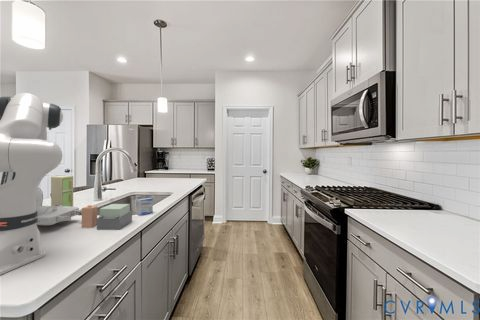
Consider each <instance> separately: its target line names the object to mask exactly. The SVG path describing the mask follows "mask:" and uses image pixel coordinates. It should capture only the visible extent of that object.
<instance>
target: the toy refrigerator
mask: <svg viewBox="0 0 480 320" xmlns="http://www.w3.org/2000/svg"><path fill="white" fill-rule="evenodd" d="M55 205H62V206H70V207H74V176H73V175H55V176H51V177H50V206H55Z"/></svg>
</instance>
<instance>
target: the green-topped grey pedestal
mask: <svg viewBox="0 0 480 320" xmlns="http://www.w3.org/2000/svg"><path fill="white" fill-rule="evenodd" d="M130 205H131V203H111V204H109V205H106V206H103V207H100V209H99V216H98V217H97V225H96V230H108V231H109V230H110V231H111V230H112V231H113V230H114V231H115V230H116V231H117V230H121V229H122V228H124V227H125V226H127V225H128V224H130V223H131V222H133V211H132V210H131V207H130Z"/></svg>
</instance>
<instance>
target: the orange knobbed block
mask: <svg viewBox="0 0 480 320" xmlns="http://www.w3.org/2000/svg"><path fill="white" fill-rule="evenodd" d="M81 211H82V215H81V228H82V229H85V228H87V229H90V228H94V227H97V218H98V206H97V205H92V204H89V205H86V206H83V207H81Z"/></svg>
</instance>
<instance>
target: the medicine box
mask: <svg viewBox="0 0 480 320" xmlns="http://www.w3.org/2000/svg"><path fill="white" fill-rule="evenodd" d="M153 200H154V198H152V197H147V198H146V197H145V198H138V199H135V214H136V215H137V216H145V215H150V214H153V205H154V201H153Z"/></svg>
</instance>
